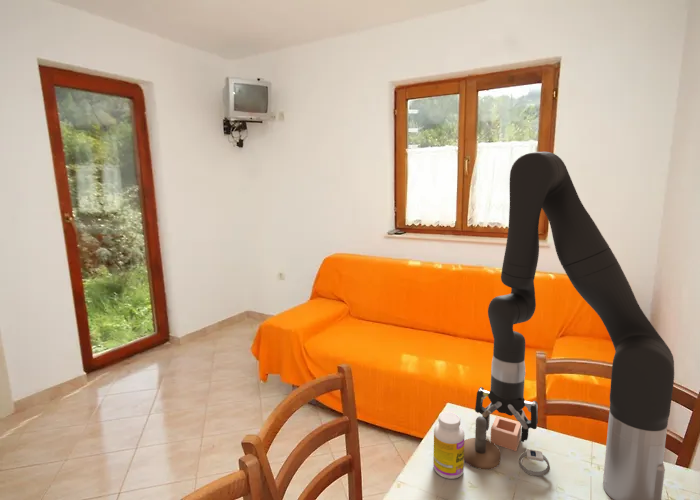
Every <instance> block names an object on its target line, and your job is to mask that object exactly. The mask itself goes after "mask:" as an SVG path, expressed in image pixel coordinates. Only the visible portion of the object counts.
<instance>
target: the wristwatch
mask: <svg viewBox="0 0 700 500" xmlns="http://www.w3.org/2000/svg"><path fill="white" fill-rule="evenodd" d="M525 457H526V459H528V460H534V461H539V462H545V463H546V464H547V465H546V466H547V467H546V468H545V469H543V470H539V471H536V470H531V469H528V468H527V467H526V466H524V465H523V463H522V461H523V459H524V458H525ZM518 465H519V467H520V469H521V470H522V471H523V472H525V473H526V474H528V475H530V476H534V477H543V476H546V475H548V474H549V473H550V471H551V465H550V462H549V460H548V458H547V457H546V456H545V455H544V454H543V451H540V450H534V449H529V448H526V449H525V451H524V452H522V453H521V454H520V456H519V457H518Z"/></svg>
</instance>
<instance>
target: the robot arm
mask: <svg viewBox="0 0 700 500" xmlns="http://www.w3.org/2000/svg"><path fill="white" fill-rule="evenodd" d="M509 172H510V173H509V210H508V229H507V239H506V244H505V249H504V254H503V255H504V257H503V261H502V267H501V273H500V281H501V283H502V284H503V285H505V286H507V287H508V288H510V289H511V290H510V291H511V292H510V293H508V294H504V295H503V294H502V295H497V296H495V297H494V298H492V299H491V301H489V304H488V307H487V317H488V320H489V324H490V329H491V333H492V337H493V352H492V354H493V355H492V359H491V371H490V372H491V374H490V389H489V390H490V391H488V390H485V388H484V387H482V386H480V387H479V388H478V390H477V392H476V398H475V407H474V408H475V409H474V411H475V413H477V414H481V417H484V418H485V419H486V422H487V426H486V432H487V431H488V430H489V429H490V418H491V417H490V416H491V414H493V413H494V412H495V411H497V412H498V413H500V414H506V415H508V416H509V417H512V416H513V417H514V418H515V420H516V422H520V424H521V438H520V442H522V443H524V442H525V441H527V440H528V438H529V432H530V431H529V429H532V430H537V427H538V424H539V423H538V422H539V412H538V411H539V410H538V409H539V404H538V401H537V400H533V401H528V400H526V399H525V398H524V394H525V393H524V392H525V379H526V378H525V377H526V363H525V359H526V358H525V355H526V338H525V337H524V335H523V334H522V333H520V332H518V331H516V330H514V325H516V324H522V323H526V322H528V321H529V320H531V319H532V317H533V316H534V314H535V311H536V306H537V303H536V300H537V299H536V290H535V283H534V282H535V276H536V272H537V267H538V263H539V262H538V261H539V256H540V255H539V254H540V236H539V226H540V225H539V224H540V217H541V212H542V211H543V212H544V214H545V215H546V218H547V220H548V223H549V226H550V229H551V236H552V240H553V244H554V249H555V252H556V255H557V259H558V260H559V262H560V263H559V264H560V265H561V266H562V268H563V270H564V272H565V274H566V276H567V277H568V280H569V281H570V283H571V284H572V286H573V288H574V289H575V290H576V291H577V293H578V294H579V296H581V298H583V300H584V301H585V302H586V303H587V304H588V305H589V306H590V307H591V308H592V310H594V311H595V313H596V314H597V315H598V317H599V318H600V319H601V321H602V323H603V325H604V327H605V329H606V331H607V333H608V335H609V337H610V340H611V342H612V345H613V348H614V351H615V353H614V356H613V359H612V365H611V366H612V367H611V374H610V375H611V376H610V377H611V378H610V389H609V412H608V423H607V432H606V433H607V434H606V436H607V437H606V445H605V454H604V455H605V456H604V468H603V475H602V476H603V477H602V487H603V489H604V491H605V493H606V494H607V495H608V496H609V497H610V498H611V499H612V500H662V497H663V496H662V495H663V490H664V488H663V487H664V480H665V479H664V478H665V471H666V469H665V463H664V457H665V451H666V450H665V449H666V442H667V441H666V440H667V439H666V438H667V431H668V423H669V417H670V414H671V404H672V400H673V391H674V383H675V382H674V381H675V361H674V360H675V359H674V355H673V353H672V351H671V348H669V346H668V344H667V343H666V342H665V340H664V339H663V338H662V336H661V335H660V334H659V333H658V331H657V329H656V328H655V327H654V325H653V324H652V322H650V320H649V318H648V317H647V316H646V314H645V313H644V311H643V310H642V308H641V306H640V304H639V303H638V300H637V298H636V296H635V294H634V291H633V289H632V286H631V285H630V283H629V281H628V279H627V277H626V275H625V273H624V271H623V268H622V266H621V265H620V263H619V261H618V259H617V257H616V256H615V253H614V252H613V250H612V249H611V247H610V245H609V244H608V242H607V240H606V239H605V237H604V236H603V234H602V232H601V231H600V229H599V228H598V226H597V224H596V223H595V221H594V220H593V218H592V217H591V215H590V213H589V212H588V211H587V209H586V208H585V206H584V204H583V202H582V201H581V198H580V196H579V194H578V192H577V189H576V187H575V185H574V183H573V180H572V178H571V176H570V175H571V174H570V173H569V170H568V168H567V166H566V164H565V162H564V160H562V158H561V157H559V156H558V155H557V154H556V153H554V152H550V151H531V152H527V153H525V154H523V155H520V156H519V157H518V158H517V159H516V160H515V161H514V162H513V164H512V166H511V168H510V171H509ZM487 397H488V399H489V401H490V403H489V404H488V405H487V406H486V407H484V406H483V402H484V400H485V399H486V398H487ZM524 408H527V411H528V412H530V420H529V418H528V417H527V416H526V413H525V411H524V410H523V409H524ZM488 432H489V431H488Z"/></svg>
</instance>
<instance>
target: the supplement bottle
mask: <svg viewBox="0 0 700 500" xmlns="http://www.w3.org/2000/svg"><path fill="white" fill-rule="evenodd" d="M464 441H465V430H464V429H463V427H462V426H461V417H460V416H459V415H458V414H457V413H455V412H452V411H443V412H440V413H439V415H438V423H437V424H435V426H434V429H433V461H432V462H433V470H434V471H435V472H436V473H437V474H438V476H440V477H442V478H445V479H449V480H451V479H452V480H453V479H454V480H455V479H457V478H460V477H461V476H462V475H463V473H464V468H465V467H464V466H465V465H464V464H465V461H464Z"/></svg>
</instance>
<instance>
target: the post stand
mask: <svg viewBox="0 0 700 500" xmlns="http://www.w3.org/2000/svg"><path fill="white" fill-rule="evenodd" d="M486 426H487V422H486V419H485V418H484V417H483V416H482V415H480V416H477V417H476V418H475V431H474V432H475V433H474V434H475V435H474V437H470V438H465V439H464V463H465V464H466V465H469V466H471V467H473V468H474V469H478V470H483V471H484V470H487V471H488V470H493V469H496V468H497V467H499V465H500V463H501V458H502V456H501V455H502V453H501V450H500V448H499V447H498V445H495V444H493V443H492V442H491V440H488V439H487V431H486Z"/></svg>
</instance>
